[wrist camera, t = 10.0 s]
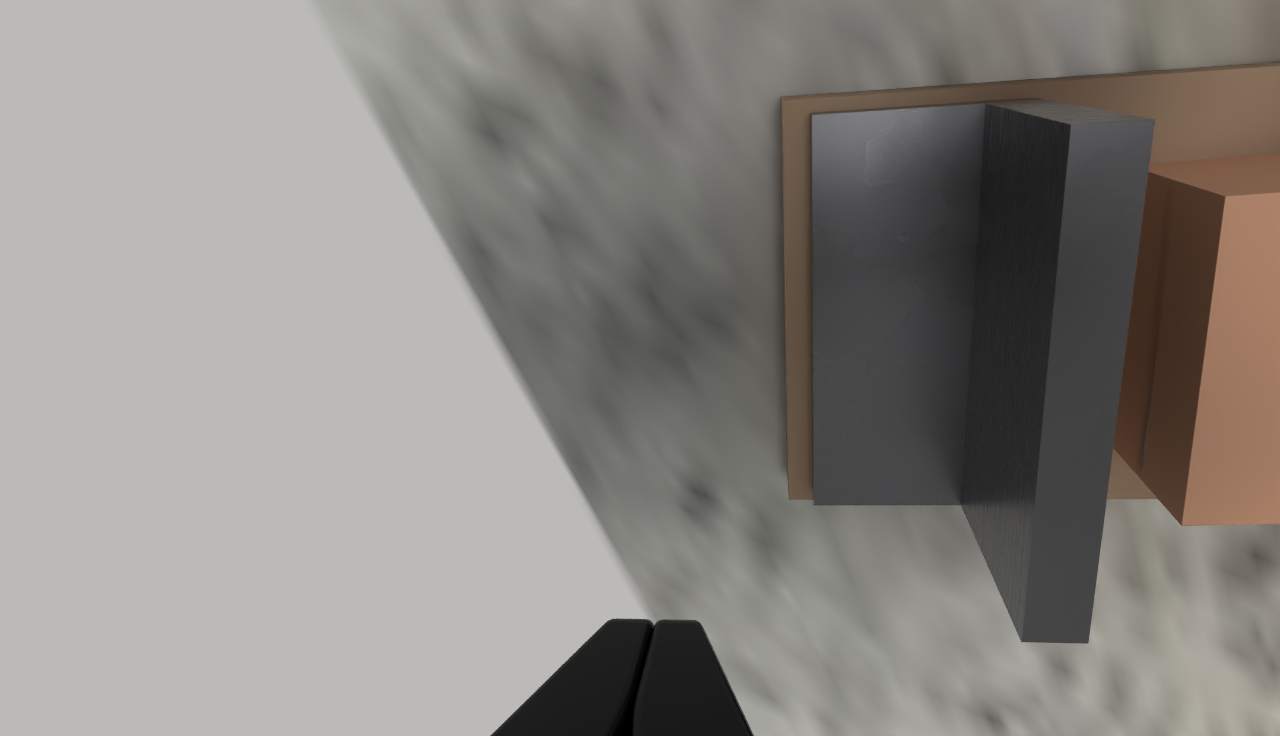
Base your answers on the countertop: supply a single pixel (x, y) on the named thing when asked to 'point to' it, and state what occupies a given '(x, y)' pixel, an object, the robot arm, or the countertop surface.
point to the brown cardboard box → (1206, 342)
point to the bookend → (978, 327)
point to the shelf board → (1177, 99)
